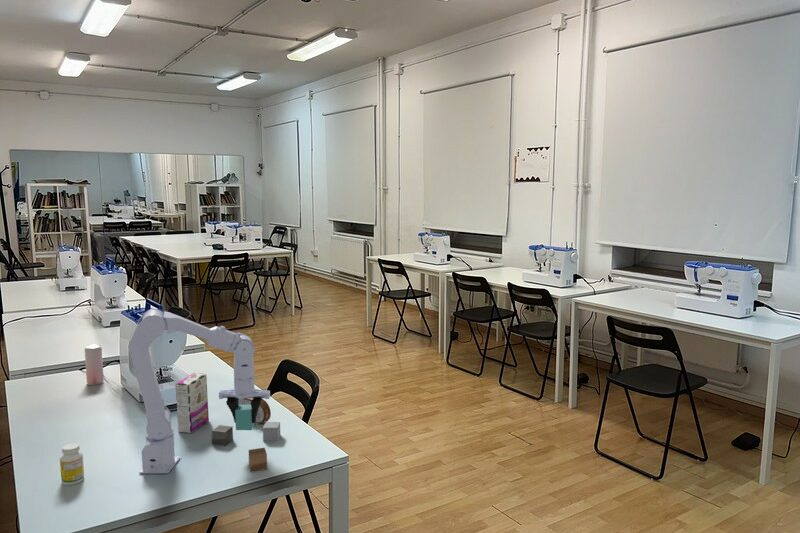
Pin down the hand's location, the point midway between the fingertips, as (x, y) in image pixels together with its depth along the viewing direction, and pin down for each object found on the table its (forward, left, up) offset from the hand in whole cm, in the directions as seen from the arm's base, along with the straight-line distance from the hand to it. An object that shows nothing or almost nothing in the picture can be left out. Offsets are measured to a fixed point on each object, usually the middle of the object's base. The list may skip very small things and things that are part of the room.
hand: (245, 421), depth 174 cm
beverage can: (+61, +75, -10) cm, 97 cm away
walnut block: (-9, -6, -10) cm, 14 cm away
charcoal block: (+7, +9, -10) cm, 15 cm away
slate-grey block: (+10, -6, -10) cm, 15 cm away
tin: (+24, +4, -10) cm, 26 cm away
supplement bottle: (-17, +42, -10) cm, 46 cm away
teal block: (0, 0, -2) cm, 2 cm away
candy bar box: (+19, +22, -10) cm, 31 cm away
